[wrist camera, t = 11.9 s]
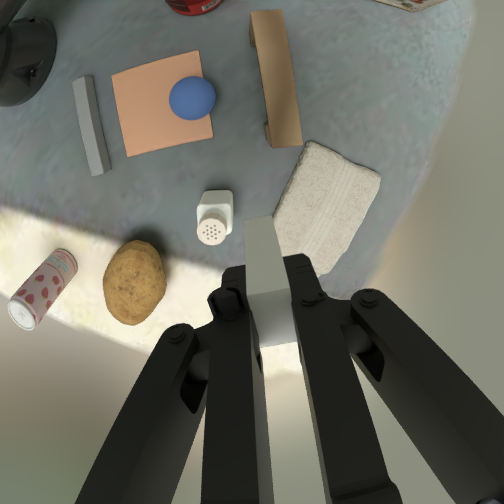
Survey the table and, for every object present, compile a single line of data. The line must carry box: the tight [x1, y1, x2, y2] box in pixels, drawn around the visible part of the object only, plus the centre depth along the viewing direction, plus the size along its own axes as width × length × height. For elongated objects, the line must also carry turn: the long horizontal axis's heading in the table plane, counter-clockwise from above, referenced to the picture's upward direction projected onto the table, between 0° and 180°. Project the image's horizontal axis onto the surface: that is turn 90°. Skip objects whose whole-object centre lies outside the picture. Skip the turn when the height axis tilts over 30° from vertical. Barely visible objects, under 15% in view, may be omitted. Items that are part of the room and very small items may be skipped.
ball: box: [169, 76, 216, 120], centre depth 30 cm, size 6×6×6 cm
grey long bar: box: [72, 76, 111, 177], centre depth 32 cm, size 14×2×2 cm, turn 8°
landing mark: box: [112, 50, 214, 157], centre depth 32 cm, size 12×12×1 cm
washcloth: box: [273, 141, 381, 277], centre depth 39 cm, size 12×18×3 cm, turn 158°
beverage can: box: [8, 249, 77, 331], centre depth 36 cm, size 6×6×15 cm
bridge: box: [249, 9, 303, 148], centre depth 28 cm, size 3×14×9 cm, turn 8°
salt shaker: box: [197, 190, 233, 245], centre depth 35 cm, size 4×4×10 cm
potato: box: [103, 240, 167, 326], centre depth 40 cm, size 10×14×8 cm
